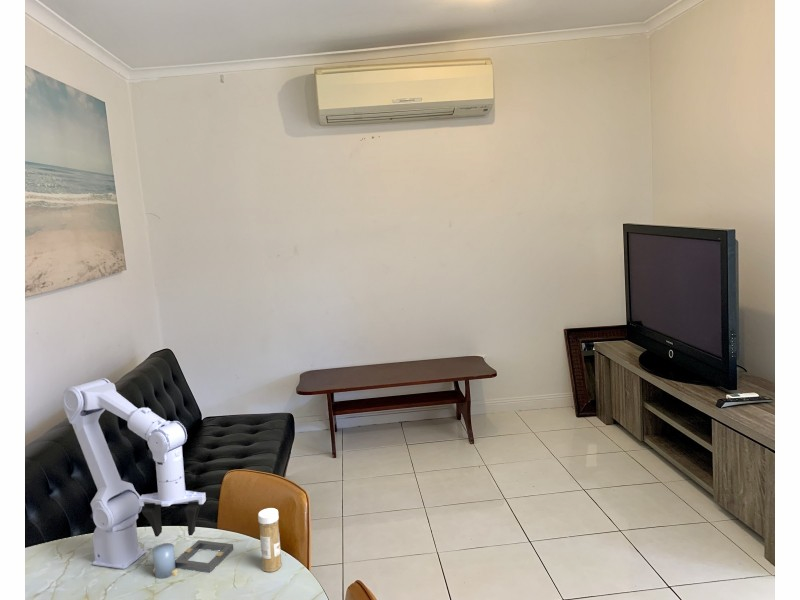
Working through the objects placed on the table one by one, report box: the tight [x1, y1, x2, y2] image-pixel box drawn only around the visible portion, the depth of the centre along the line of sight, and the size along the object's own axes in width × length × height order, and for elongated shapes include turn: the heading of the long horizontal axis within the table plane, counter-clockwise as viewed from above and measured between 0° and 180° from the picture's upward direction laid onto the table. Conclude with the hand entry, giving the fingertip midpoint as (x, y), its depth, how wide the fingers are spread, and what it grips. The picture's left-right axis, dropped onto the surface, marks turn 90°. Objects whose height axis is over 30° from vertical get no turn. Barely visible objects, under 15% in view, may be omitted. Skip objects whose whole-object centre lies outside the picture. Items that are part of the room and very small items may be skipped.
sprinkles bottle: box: [257, 507, 283, 573], centre depth 130 cm, size 5×5×14 cm
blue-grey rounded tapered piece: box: [152, 542, 179, 579], centre depth 130 cm, size 6×4×6 cm
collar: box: [175, 539, 235, 573], centre depth 135 cm, size 10×10×2 cm
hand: (175, 533), depth 129 cm, fingers open, 7 cm apart
